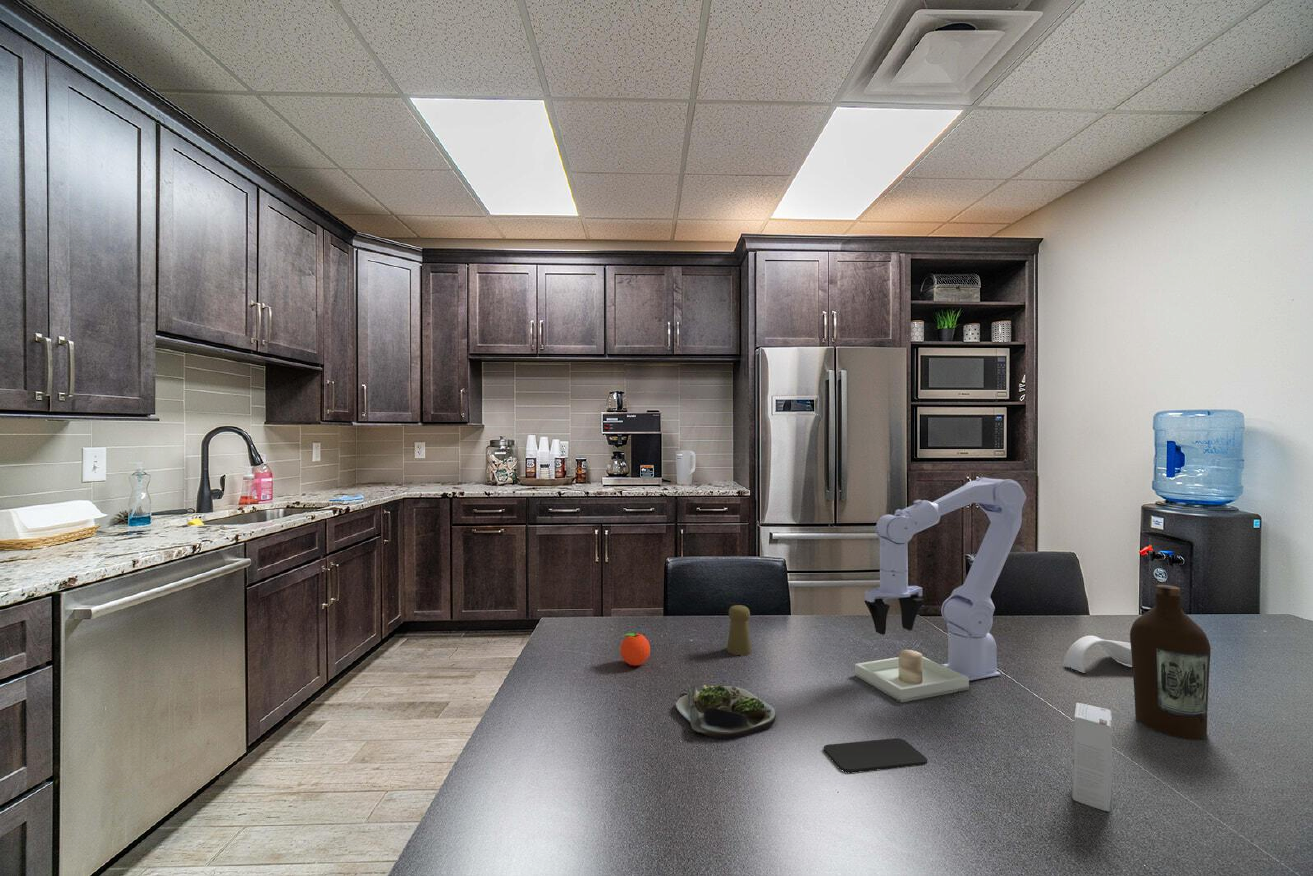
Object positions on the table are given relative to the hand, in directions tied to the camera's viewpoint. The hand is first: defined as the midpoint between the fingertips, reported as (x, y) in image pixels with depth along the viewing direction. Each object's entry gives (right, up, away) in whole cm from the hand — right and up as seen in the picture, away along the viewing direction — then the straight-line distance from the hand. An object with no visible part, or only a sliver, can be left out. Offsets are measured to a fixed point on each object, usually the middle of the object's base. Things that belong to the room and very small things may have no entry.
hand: (894, 631), depth 121 cm
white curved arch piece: (+53, -10, +4) cm, 54 cm away
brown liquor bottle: (+40, -9, -23) cm, 47 cm away
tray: (+2, -9, -4) cm, 10 cm away
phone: (-17, -9, -32) cm, 38 cm away
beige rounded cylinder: (+2, -9, -4) cm, 10 cm away
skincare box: (+10, -9, -43) cm, 45 cm away
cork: (-32, -10, +13) cm, 36 cm away
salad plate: (-40, -10, -19) cm, 45 cm away
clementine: (-58, -10, +5) cm, 59 cm away
